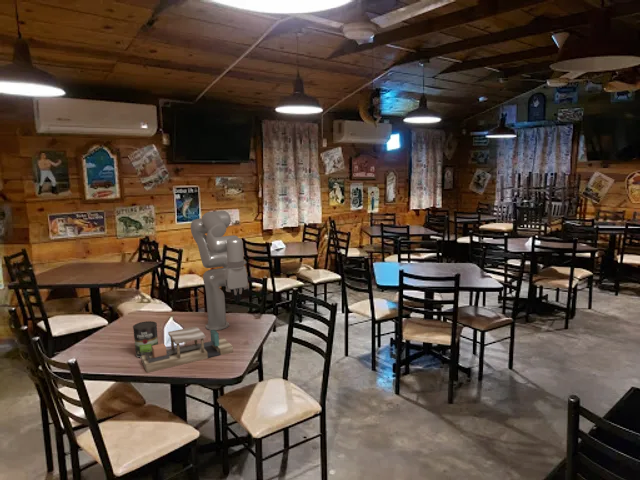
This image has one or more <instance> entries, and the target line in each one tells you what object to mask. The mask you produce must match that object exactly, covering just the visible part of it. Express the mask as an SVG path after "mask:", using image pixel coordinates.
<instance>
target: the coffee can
mask: <svg viewBox="0 0 640 480" xmlns="http://www.w3.org/2000/svg"><path fill="white" fill-rule="evenodd" d="M157 326H158V324H157V321H152V320H151V321H150V320H148V321H141V322H137V323H136V324H134V325H133V326H132V329H133V339H134V349H135V356H137V357H136V358H138V357H140V358H139V359H141V356H142V355H145V353H146V352H151V351H152V346H153V345H158V344H159V339H158V327H157Z"/></svg>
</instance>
